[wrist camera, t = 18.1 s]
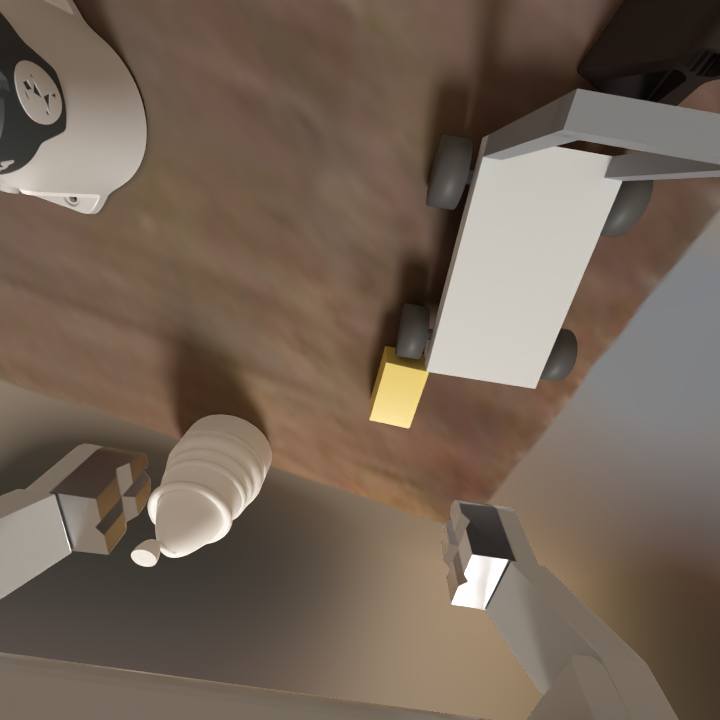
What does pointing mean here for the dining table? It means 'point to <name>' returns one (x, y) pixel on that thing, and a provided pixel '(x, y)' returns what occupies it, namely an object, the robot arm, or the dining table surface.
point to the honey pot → (205, 486)
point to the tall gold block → (397, 389)
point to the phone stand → (657, 50)
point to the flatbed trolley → (543, 227)
